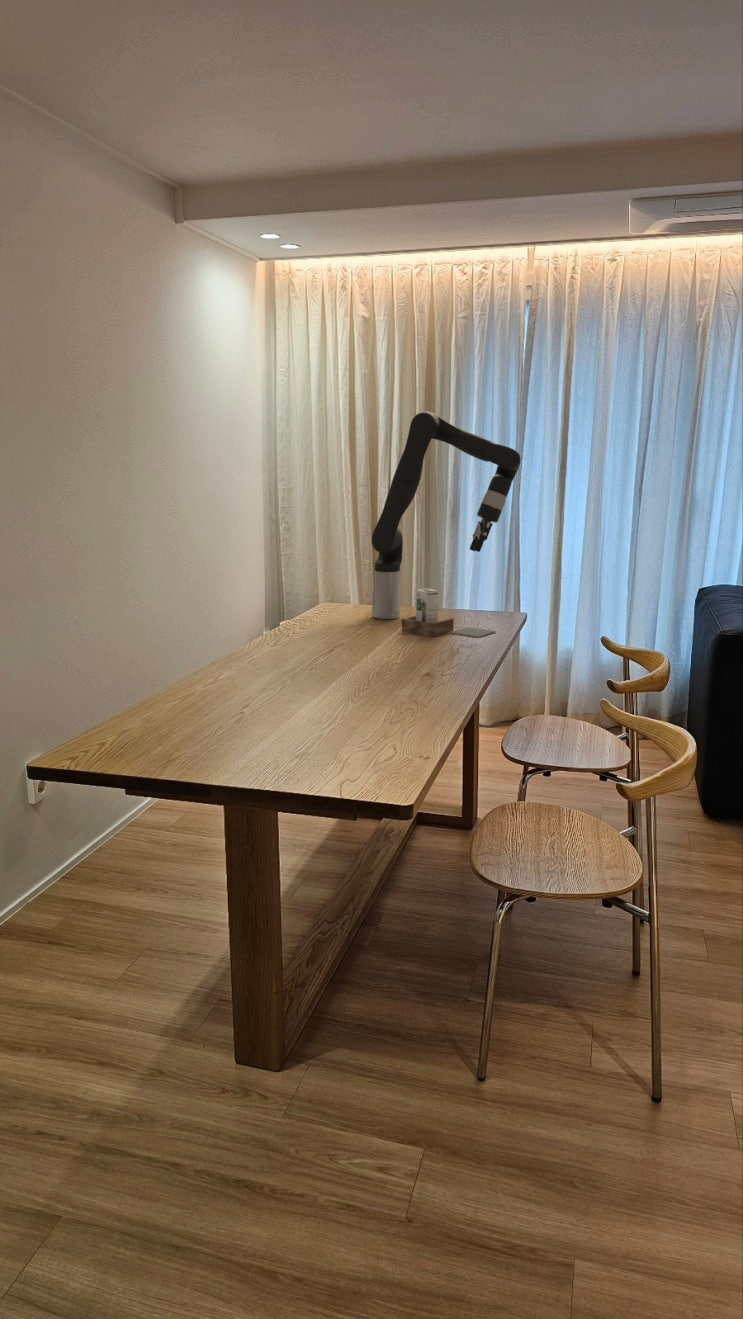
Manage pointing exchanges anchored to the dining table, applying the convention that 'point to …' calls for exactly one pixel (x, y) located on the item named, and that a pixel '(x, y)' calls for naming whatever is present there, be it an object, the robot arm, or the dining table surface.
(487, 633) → the grey mat
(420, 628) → the walnut cubby
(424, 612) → the syrup box
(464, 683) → the dining table surface
